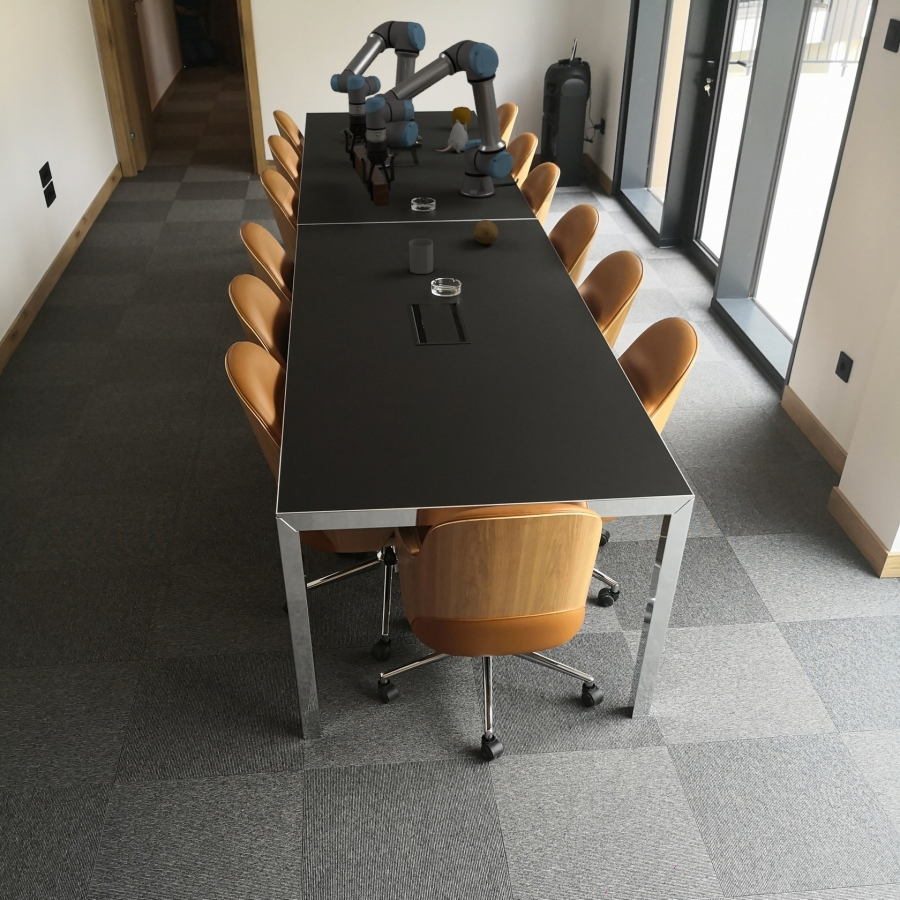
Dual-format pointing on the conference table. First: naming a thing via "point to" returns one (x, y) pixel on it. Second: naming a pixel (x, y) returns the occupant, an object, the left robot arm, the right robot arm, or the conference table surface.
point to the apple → (461, 115)
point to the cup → (421, 256)
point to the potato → (485, 232)
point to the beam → (377, 179)
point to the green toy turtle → (351, 138)
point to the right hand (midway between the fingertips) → (379, 199)
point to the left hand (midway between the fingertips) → (360, 167)
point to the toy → (457, 138)
